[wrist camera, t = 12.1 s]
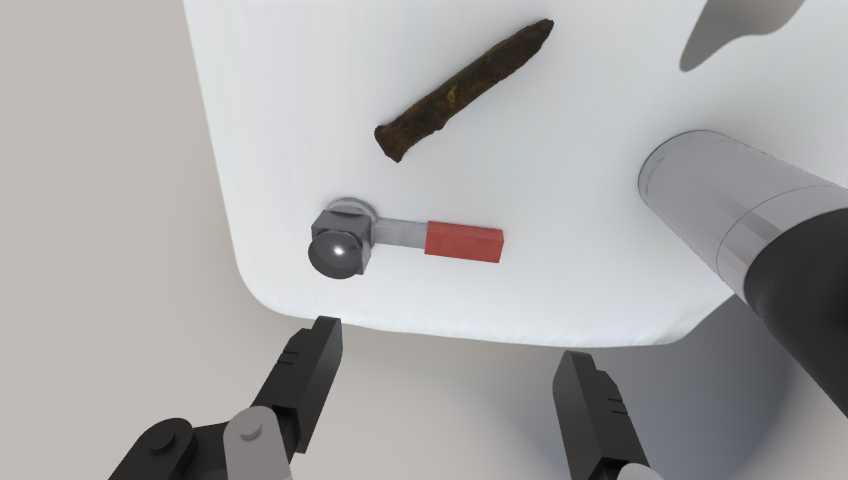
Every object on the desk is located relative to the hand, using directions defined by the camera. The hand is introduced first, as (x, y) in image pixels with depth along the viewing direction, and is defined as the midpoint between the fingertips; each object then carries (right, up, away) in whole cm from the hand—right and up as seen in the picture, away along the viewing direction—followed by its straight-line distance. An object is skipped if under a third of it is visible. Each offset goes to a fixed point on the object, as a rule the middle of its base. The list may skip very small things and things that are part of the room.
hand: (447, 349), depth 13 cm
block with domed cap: (-10, +5, +30) cm, 32 cm away
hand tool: (+2, +20, +23) cm, 30 cm away
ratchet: (-2, +5, +32) cm, 32 cm away
